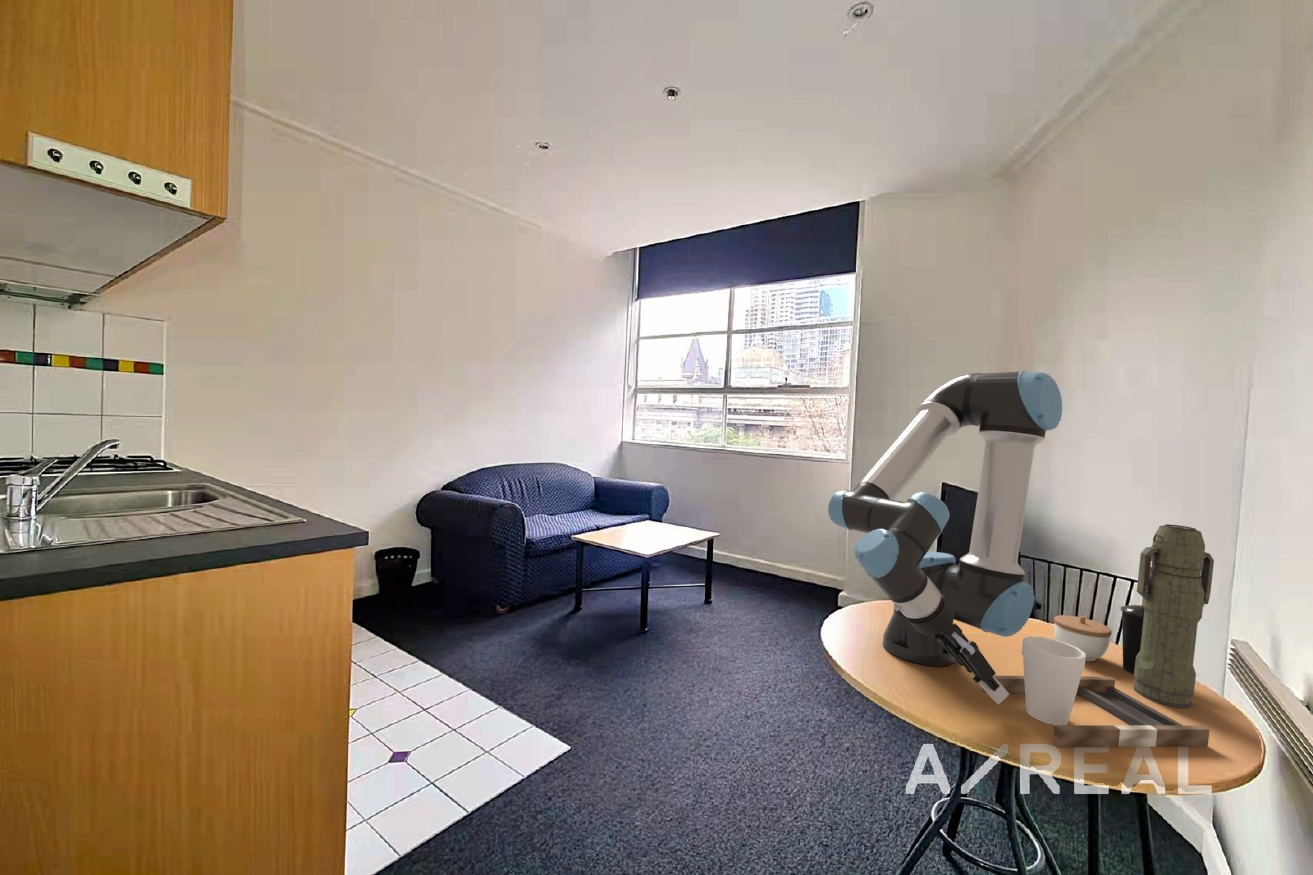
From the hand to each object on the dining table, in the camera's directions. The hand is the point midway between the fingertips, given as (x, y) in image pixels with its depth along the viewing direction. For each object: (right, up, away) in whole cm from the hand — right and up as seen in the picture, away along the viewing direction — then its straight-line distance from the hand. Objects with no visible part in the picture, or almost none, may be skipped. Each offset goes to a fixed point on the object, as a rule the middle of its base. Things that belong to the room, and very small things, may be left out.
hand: (1001, 697), depth 99 cm
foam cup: (+9, -4, +1) cm, 10 cm away
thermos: (+40, -6, +12) cm, 42 cm away
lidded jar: (+38, -5, +30) cm, 48 cm away
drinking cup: (+45, -5, +23) cm, 51 cm away
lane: (+17, -5, +2) cm, 18 cm away
